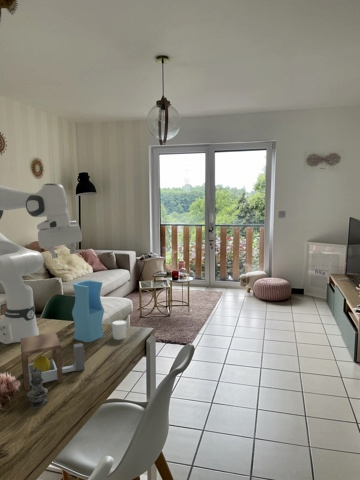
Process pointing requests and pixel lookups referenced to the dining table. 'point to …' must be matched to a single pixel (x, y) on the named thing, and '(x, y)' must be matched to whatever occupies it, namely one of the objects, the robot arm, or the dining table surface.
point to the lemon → (42, 364)
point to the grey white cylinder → (119, 329)
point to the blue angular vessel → (88, 311)
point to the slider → (52, 374)
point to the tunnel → (36, 346)
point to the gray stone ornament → (37, 390)
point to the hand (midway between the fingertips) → (64, 255)
